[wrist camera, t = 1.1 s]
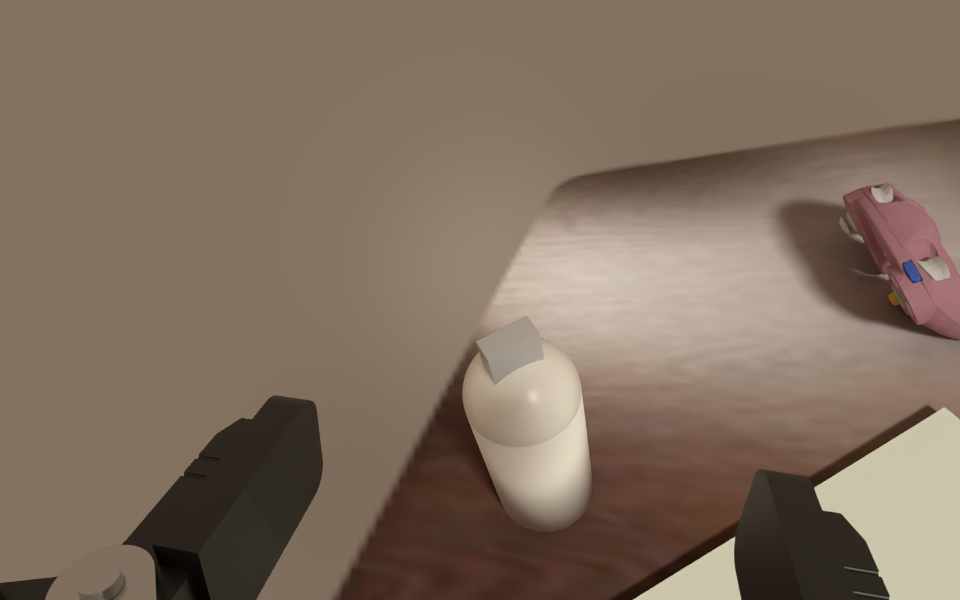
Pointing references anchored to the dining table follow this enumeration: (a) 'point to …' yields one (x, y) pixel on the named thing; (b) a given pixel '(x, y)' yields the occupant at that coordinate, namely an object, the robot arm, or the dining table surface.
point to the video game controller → (907, 255)
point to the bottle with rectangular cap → (530, 426)
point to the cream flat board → (875, 519)
